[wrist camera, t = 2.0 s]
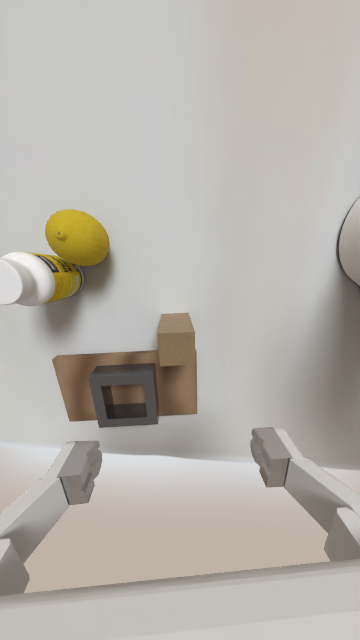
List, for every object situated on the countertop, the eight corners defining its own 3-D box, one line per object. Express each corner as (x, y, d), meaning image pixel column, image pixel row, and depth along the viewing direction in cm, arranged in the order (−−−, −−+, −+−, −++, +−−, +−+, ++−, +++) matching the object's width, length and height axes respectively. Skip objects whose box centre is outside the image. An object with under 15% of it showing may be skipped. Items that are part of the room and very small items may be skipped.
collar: (155, 362, 27) (153, 374, 24) (159, 409, 30) (157, 424, 27) (96, 365, 27) (88, 377, 24) (106, 412, 30) (99, 427, 27)
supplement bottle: (90, 267, 24) (38, 268, 15) (78, 302, 25) (22, 323, 16) (50, 248, 23) (-33, 236, 14) (40, 285, 24) (-43, 297, 15)
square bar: (188, 312, 26) (194, 331, 19) (188, 337, 28) (195, 364, 20) (161, 314, 26) (157, 333, 19) (163, 338, 28) (160, 366, 20)
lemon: (112, 271, 24) (84, 274, 17) (71, 257, 24) (22, 253, 16) (122, 230, 23) (96, 212, 15) (78, 213, 22) (28, 185, 14)
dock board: (195, 348, 28) (196, 352, 27) (196, 408, 32) (197, 413, 31) (57, 355, 28) (51, 359, 26) (73, 415, 31) (69, 421, 30)
